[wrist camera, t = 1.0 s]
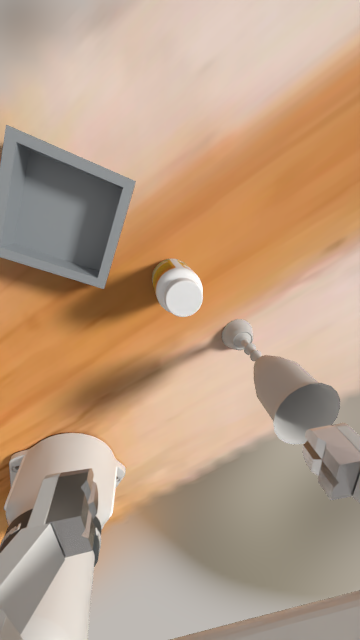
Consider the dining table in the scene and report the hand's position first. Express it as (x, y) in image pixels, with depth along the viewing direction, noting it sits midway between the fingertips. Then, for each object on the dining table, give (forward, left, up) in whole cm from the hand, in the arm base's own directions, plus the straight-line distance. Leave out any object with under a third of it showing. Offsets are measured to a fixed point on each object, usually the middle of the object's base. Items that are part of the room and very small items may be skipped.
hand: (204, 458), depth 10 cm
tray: (+4, +11, -28) cm, 31 cm away
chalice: (-4, -16, -29) cm, 33 cm away
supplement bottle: (+1, -3, -29) cm, 29 cm away
